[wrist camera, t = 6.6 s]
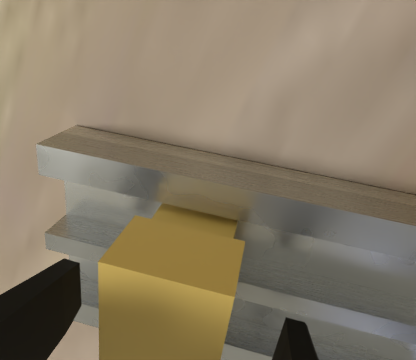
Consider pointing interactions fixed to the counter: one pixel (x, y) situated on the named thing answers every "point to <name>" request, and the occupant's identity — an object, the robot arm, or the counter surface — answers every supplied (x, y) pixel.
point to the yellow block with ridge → (169, 287)
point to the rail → (252, 240)
